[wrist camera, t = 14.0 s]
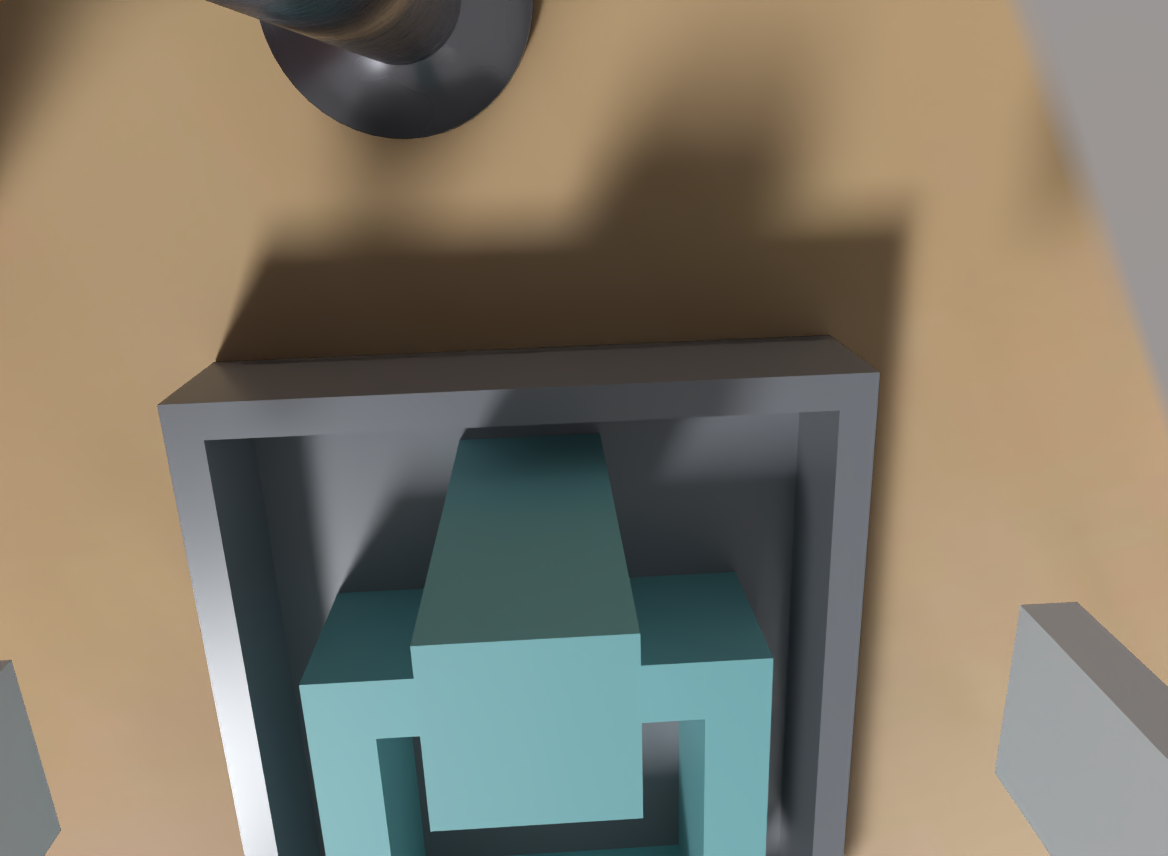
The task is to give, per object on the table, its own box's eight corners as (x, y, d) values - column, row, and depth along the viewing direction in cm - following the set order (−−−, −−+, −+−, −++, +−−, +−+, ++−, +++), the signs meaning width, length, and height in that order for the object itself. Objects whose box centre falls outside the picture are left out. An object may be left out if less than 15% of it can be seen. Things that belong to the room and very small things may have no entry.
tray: (214, 362, 19) (157, 405, 16) (829, 334, 19) (879, 372, 17) (314, 951, 24) (284, 1061, 21) (796, 918, 25) (831, 1022, 22)
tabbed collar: (317, 446, 19) (175, 659, 12) (738, 426, 20) (866, 620, 12) (380, 904, 23) (305, 1281, 16) (728, 881, 24) (818, 1241, 16)
